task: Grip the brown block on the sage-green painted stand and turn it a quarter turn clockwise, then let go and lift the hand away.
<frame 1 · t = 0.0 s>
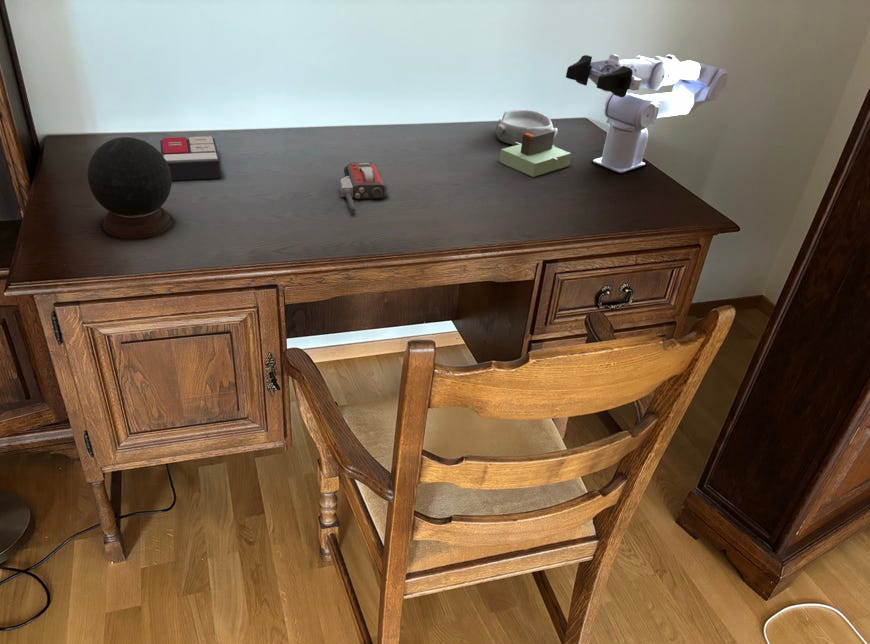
hand: (583, 77, 146), 22 cm above the table, tool horizontal, fingers open, 7 cm apart
ball on wooden base: (138, 225, 130), on the table
stand: (534, 164, 166), on the table
dish: (523, 139, 179), on the table
brown block: (537, 141, 163), point 5 cm above the table, hinge at 0.0°
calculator: (191, 166, 152), on the table
walkie-talkie: (362, 195, 147), on the table
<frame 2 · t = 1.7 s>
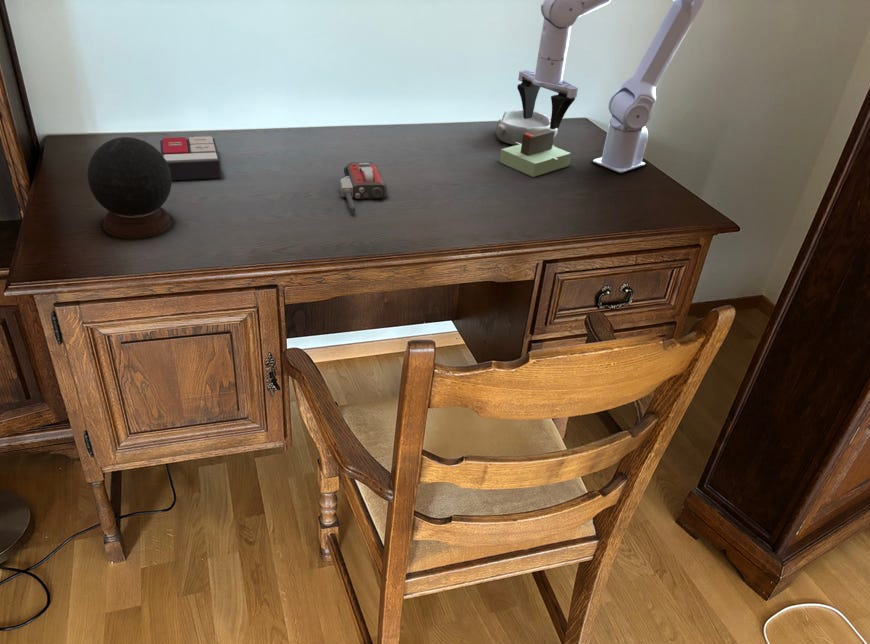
hand: (540, 123, 161), 9 cm above the table, tool pointing down, fingers open, 7 cm apart
nothing on the table moved.
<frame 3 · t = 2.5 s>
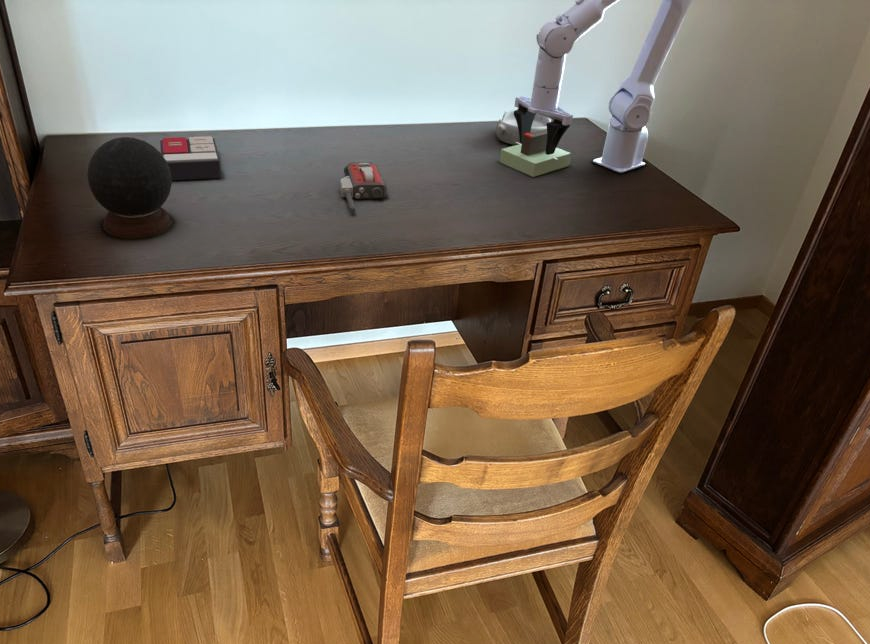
hand: (536, 148, 164), 4 cm above the table, tool pointing down, fingers open, 7 cm apart
nothing on the table moved.
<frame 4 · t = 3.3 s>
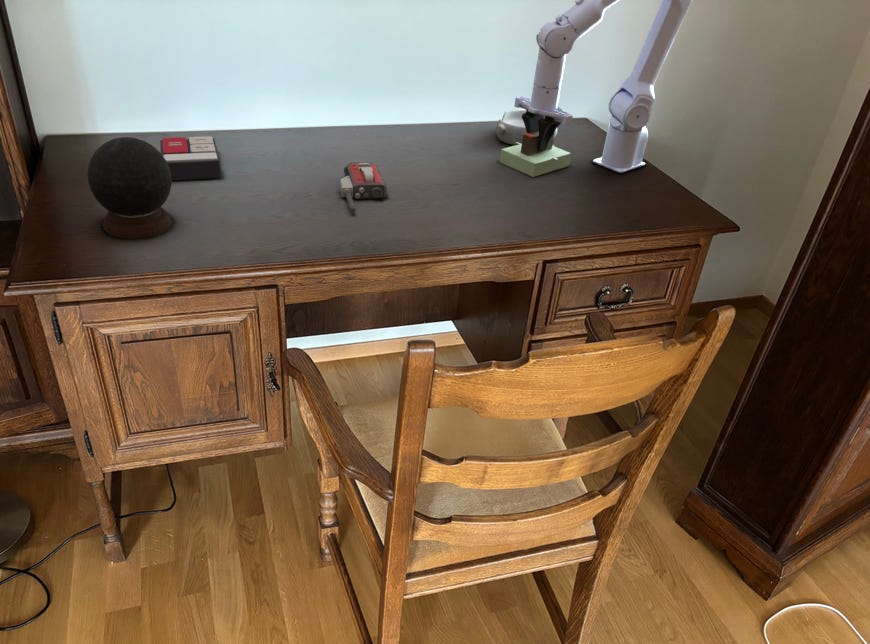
hand: (536, 148, 164), 4 cm above the table, tool pointing down, fingers closed on brown block, 2 cm apart
brown block: (537, 141, 163), point 5 cm above the table, hinge at 0.0°, touching gripper
everything else where it was.
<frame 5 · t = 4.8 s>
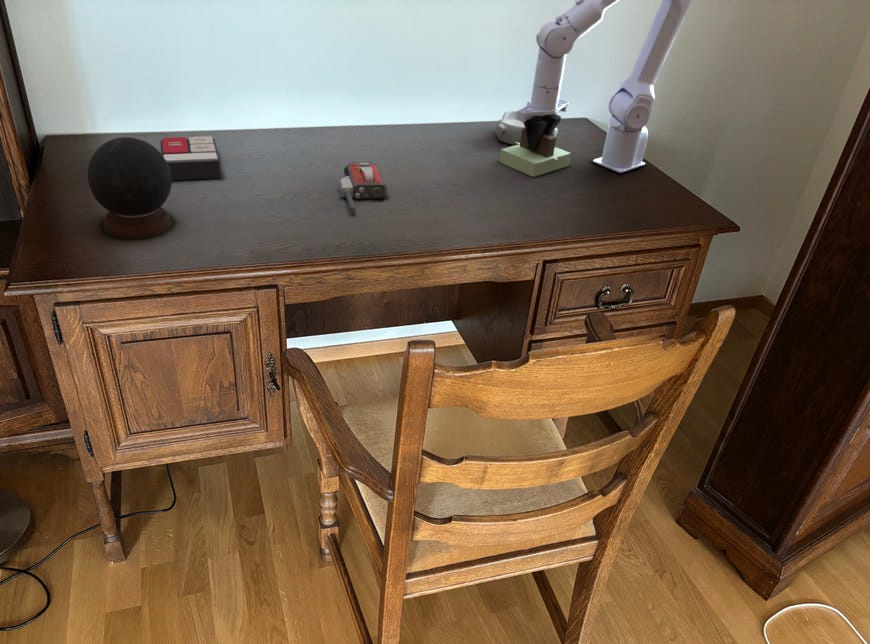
hand: (536, 148, 164), 4 cm above the table, tool pointing down, fingers closed on brown block, 2 cm apart
brown block: (537, 141, 163), point 5 cm above the table, hinge at -90.0°, touching gripper
everything else where it was.
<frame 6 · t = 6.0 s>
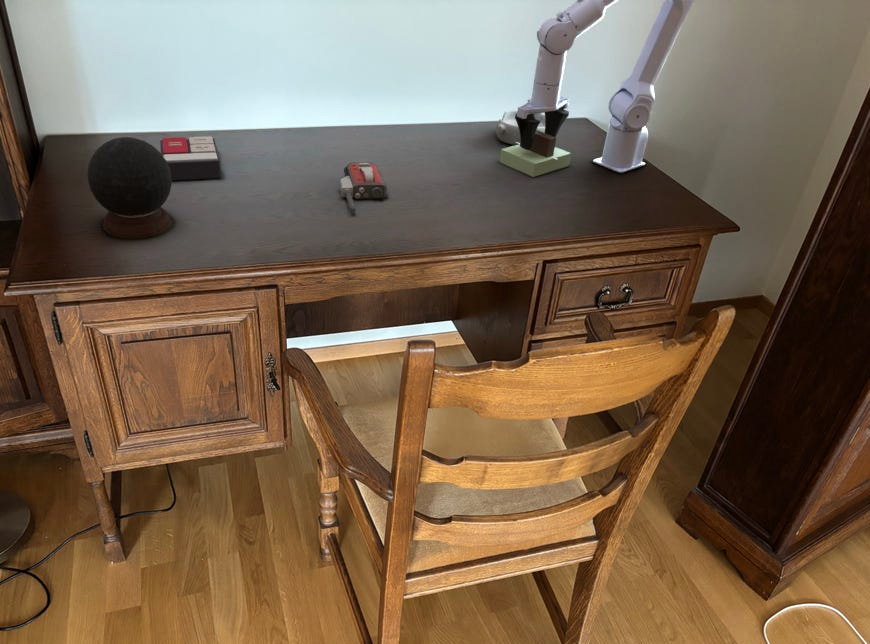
hand: (537, 145, 164), 4 cm above the table, tool pointing down, fingers open, 7 cm apart
brown block: (537, 141, 163), point 5 cm above the table, hinge at -90.1°
everything else where it was.
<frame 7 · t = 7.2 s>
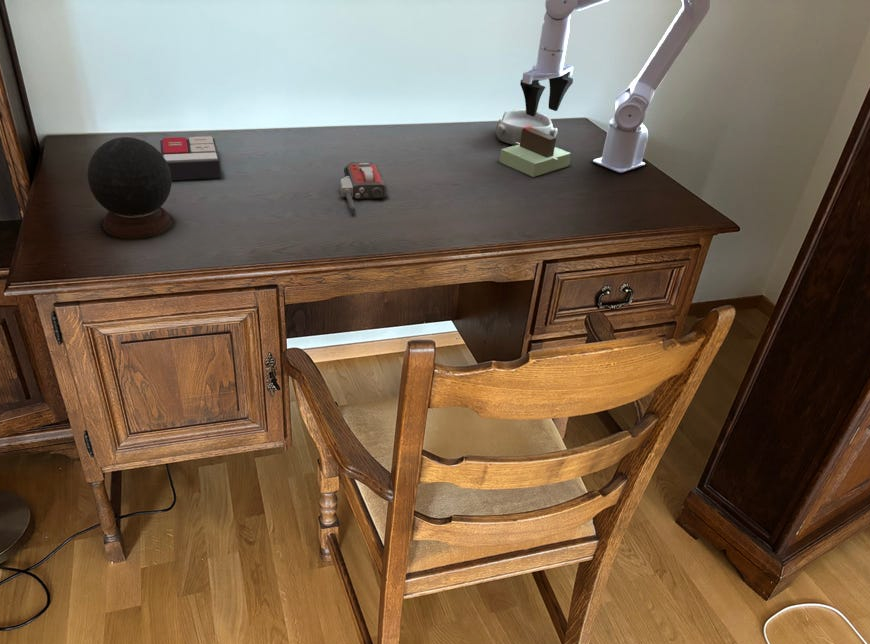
hand: (541, 112, 166), 9 cm above the table, tool pointing down, fingers open, 7 cm apart
nothing on the table moved.
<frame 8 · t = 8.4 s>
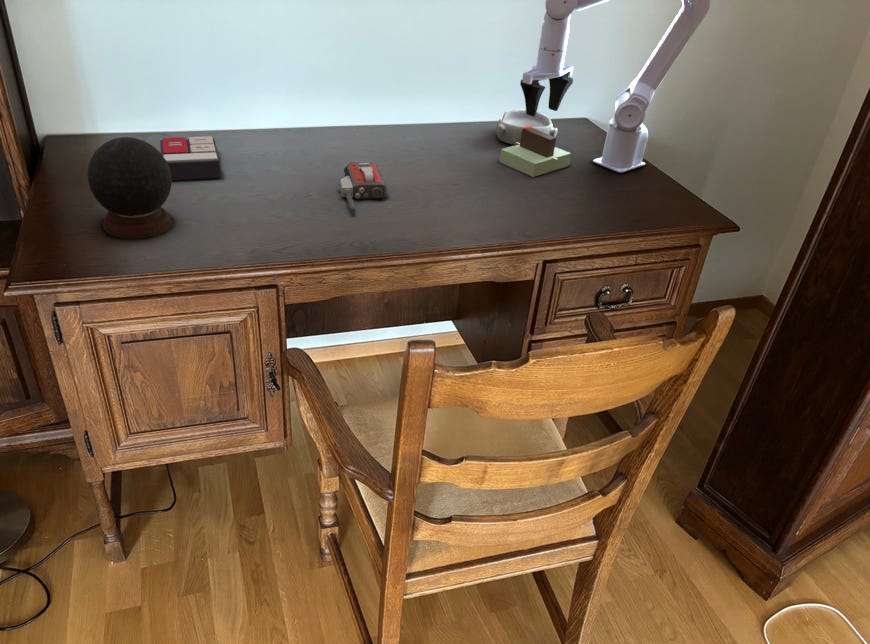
hand: (541, 112, 166), 9 cm above the table, tool pointing down, fingers open, 7 cm apart
nothing on the table moved.
at the end: brown block at -90° (first picture: +0°); the gripper is holding nothing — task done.
